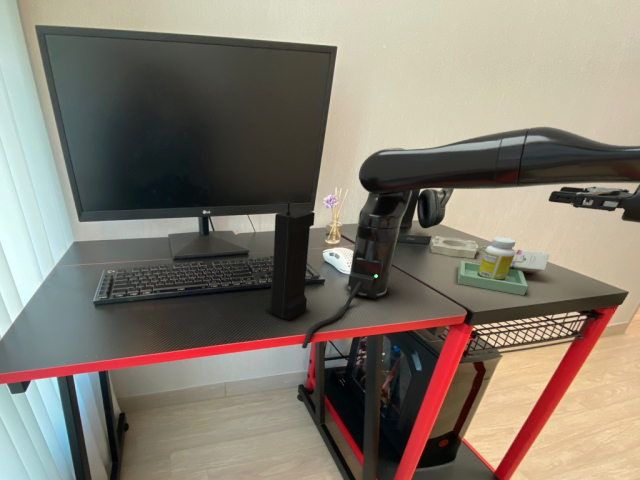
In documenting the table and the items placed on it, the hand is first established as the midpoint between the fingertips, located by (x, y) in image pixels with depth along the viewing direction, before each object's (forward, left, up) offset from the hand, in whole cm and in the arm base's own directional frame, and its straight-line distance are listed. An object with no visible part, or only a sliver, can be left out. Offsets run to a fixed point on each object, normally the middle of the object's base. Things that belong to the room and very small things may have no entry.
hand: (555, 193), depth 72 cm
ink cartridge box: (+11, -6, -20) cm, 23 cm away
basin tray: (+2, +6, -24) cm, 24 cm away
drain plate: (+26, +15, -23) cm, 38 cm away
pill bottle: (+2, +6, -23) cm, 24 cm away
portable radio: (-40, +46, -24) cm, 65 cm away
